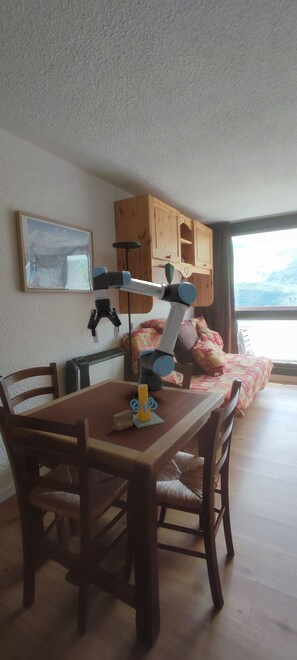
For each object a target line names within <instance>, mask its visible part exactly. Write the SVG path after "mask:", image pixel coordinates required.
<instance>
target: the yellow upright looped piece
mask: <svg viewBox="0 0 297 660" xmlns="http://www.w3.org/2000/svg"><path fill="white" fill-rule="evenodd" d="M137 388H138V394H139V398H138V400H136V399H132V400H130V402H129V405H130V407H131V408H132V409H131V410H132V411H133V413H134V412H135V413H136V414H137V419H138V421H142V422H145V421H149V420H150V419H151V412H152V411H155V410H157V408H158V403H157V402H156V401H155V400H154V397H152V396H151V397H150V398H148V386H147V385H146V384H140V385H138V384H137ZM154 404H155V406H154ZM136 405H137V406H136ZM153 406H154V407H153Z"/></svg>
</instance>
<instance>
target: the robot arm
mask: <svg viewBox="0 0 297 660" xmlns="http://www.w3.org/2000/svg"><path fill="white" fill-rule="evenodd" d="M91 279H92V287H93V294H94V295H93V297H94V299H95V300H94V306H95V308H92V309H90V316H89V321H88V322H87V323H88V324H87V327H86V328H87V330H88V329H89V330H90V331H91V337H92V339H93V344H99V336H98V329H97V327H98V325H99V323H100V321H101V319H102V318H103V319H104V318H106V319H108V321H110V323H111V324H112V325H113V335H114V336H113V337H114V340H120V335H119V334H120V327H121V326H122V324H123V323H122V322H121V319H120V318H119V315H118V313H117V311H116V308H115V307H111V299H110V297H111V296H110V289H116V290H120V291H125V292H129V293H135V294H139V295H145V296H149V297H154V298H156V299H157V300H159V301H164V302H167V303H169V305H170V309H169V312H168V314H167V317H166V321H165V325H164V327H163V331H162V334H161V337H160V341H159V343H158V346H156V347H155V348H153V349H144V350H140V351H139V356H138V358H139V372H140V374H139V375H140V376H139V379H138V382H137V386H138V385H140V384H146V385H147V386H148V388H149V389H150V390H151V391H152V392H153V391H159V390H162V389H164V382H163V380H162V377H167V376H169V375H171V373H173V372H174V370H175V366H176V363H175V360H174V358H175V353H174V349H175V346H176V344H177V343H176V342H177V338H178V336H179V334H180V330H181V327H182V323H183V320H184V317H185V315H186V311H188V310H190V307H191V304H193V303H194V302H195V301H196V300H197V299H198V298H197V297H198V290H197V289H196V286H195V285H194V284H193V283H191V282H187V281H184V282H180V283H174V284H173V283H170V284H169V283H168V284H166V283H160V284H157V283H153V282H148V281H145V280H140V279H135V278H132V275H131V273H130V271H128V270H118V271H113V270H112V271H109V270H108V269H107V267H105V266H98V267H93V268H92V270H91Z"/></svg>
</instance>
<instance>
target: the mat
mask: <svg viewBox="0 0 297 660" xmlns="http://www.w3.org/2000/svg"><path fill="white" fill-rule="evenodd" d="M164 423H165V420H164V419H162V418H161V417H160V416H159V415H158V414H157V413H155V412H154V410H151V419H150V420H149V421H145V422H142V421H138V419H137V413H136V414H133V424H134V425H135V427H136V428H138V429H140V428H145V427H149V426H153V425H159V424H164Z"/></svg>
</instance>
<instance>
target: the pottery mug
mask: <svg viewBox="0 0 297 660" xmlns="http://www.w3.org/2000/svg"><path fill="white" fill-rule="evenodd" d="M152 392H153V391H151V390H150V389H149V388H148V398H150V397H152ZM131 394H132V400H133V399H136V400H138V401H139V394H138V387H136V388H135V389H134V391H133V392H132V393H131Z"/></svg>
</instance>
